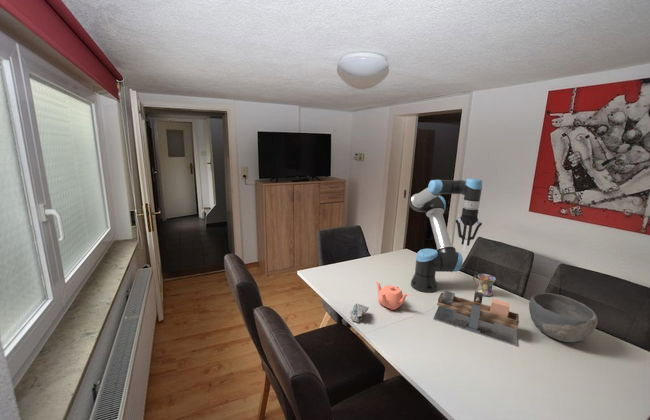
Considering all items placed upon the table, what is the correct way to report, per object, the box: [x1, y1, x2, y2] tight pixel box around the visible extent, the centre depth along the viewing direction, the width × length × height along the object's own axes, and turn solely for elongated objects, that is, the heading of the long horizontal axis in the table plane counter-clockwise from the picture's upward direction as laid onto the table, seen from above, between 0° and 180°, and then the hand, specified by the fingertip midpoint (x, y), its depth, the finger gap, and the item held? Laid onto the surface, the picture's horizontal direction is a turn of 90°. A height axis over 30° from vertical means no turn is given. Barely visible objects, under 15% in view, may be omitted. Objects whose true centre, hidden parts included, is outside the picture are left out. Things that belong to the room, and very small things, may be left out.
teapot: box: [375, 281, 410, 311], centre depth 152 cm, size 14×14×11 cm
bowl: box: [528, 292, 599, 343], centre depth 131 cm, size 24×24×15 cm
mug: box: [472, 273, 497, 297], centre depth 169 cm, size 12×9×11 cm
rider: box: [490, 298, 511, 317], centre depth 133 cm, size 7×4×7 cm, turn 58°
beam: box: [436, 290, 520, 331], centre depth 138 cm, size 34×12×7 cm, turn 58°
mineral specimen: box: [350, 303, 369, 323], centre depth 140 cm, size 10×8×10 cm
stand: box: [432, 290, 518, 347], centre depth 138 cm, size 35×18×13 cm, turn 58°
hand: (464, 250), depth 154 cm, fingers closed
